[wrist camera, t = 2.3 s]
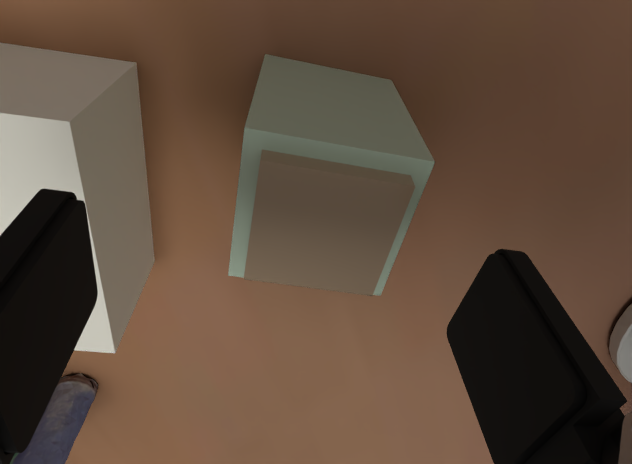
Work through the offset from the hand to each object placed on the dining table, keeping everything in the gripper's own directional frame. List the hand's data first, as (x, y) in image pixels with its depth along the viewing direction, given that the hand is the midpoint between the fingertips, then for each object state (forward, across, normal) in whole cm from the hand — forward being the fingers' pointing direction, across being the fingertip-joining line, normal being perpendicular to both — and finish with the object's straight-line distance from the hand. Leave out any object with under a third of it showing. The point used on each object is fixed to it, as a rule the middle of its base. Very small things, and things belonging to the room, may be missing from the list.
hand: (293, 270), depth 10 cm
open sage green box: (+9, -1, 0) cm, 9 cm away
